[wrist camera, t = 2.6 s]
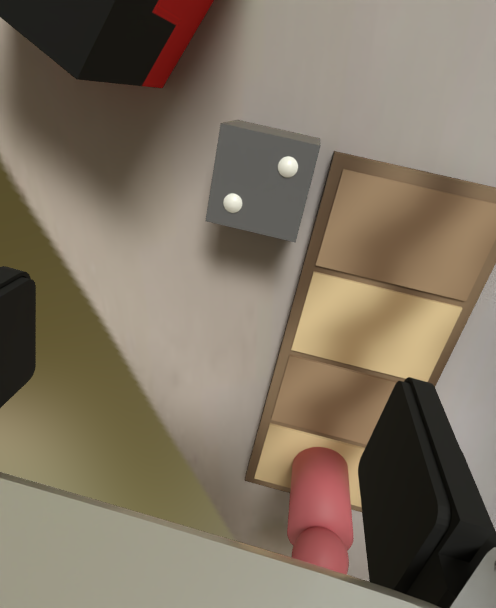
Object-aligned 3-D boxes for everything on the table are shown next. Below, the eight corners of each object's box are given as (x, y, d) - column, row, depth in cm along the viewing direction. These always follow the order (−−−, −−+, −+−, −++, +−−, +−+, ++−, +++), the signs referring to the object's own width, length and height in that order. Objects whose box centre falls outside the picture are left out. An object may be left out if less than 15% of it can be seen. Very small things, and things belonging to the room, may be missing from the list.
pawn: (355, 455, 33) (367, 575, 25) (338, 493, 35) (344, 617, 27) (299, 440, 33) (293, 554, 25) (286, 479, 35) (276, 597, 27)
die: (319, 138, 25) (320, 145, 21) (299, 219, 27) (295, 242, 23) (237, 119, 25) (220, 123, 21) (223, 202, 28) (205, 221, 23)
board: (520, 193, 25) (529, 197, 24) (370, 504, 37) (372, 516, 36) (334, 150, 25) (334, 153, 24) (246, 471, 37) (244, 482, 36)
